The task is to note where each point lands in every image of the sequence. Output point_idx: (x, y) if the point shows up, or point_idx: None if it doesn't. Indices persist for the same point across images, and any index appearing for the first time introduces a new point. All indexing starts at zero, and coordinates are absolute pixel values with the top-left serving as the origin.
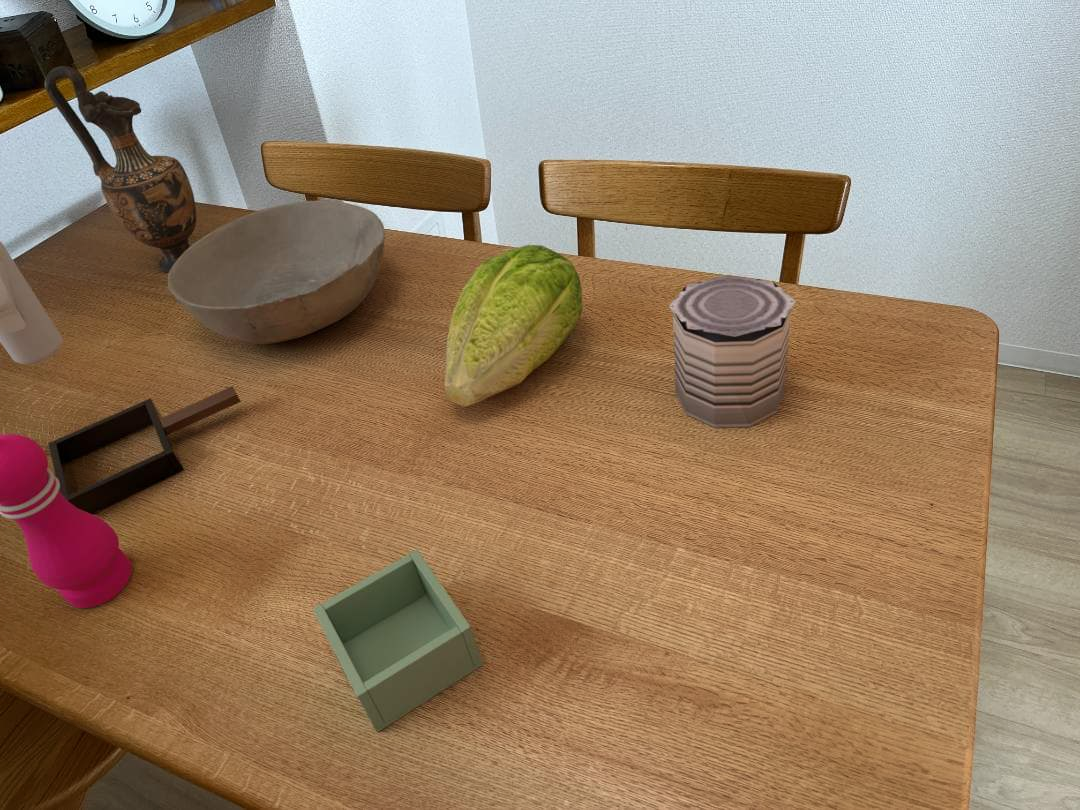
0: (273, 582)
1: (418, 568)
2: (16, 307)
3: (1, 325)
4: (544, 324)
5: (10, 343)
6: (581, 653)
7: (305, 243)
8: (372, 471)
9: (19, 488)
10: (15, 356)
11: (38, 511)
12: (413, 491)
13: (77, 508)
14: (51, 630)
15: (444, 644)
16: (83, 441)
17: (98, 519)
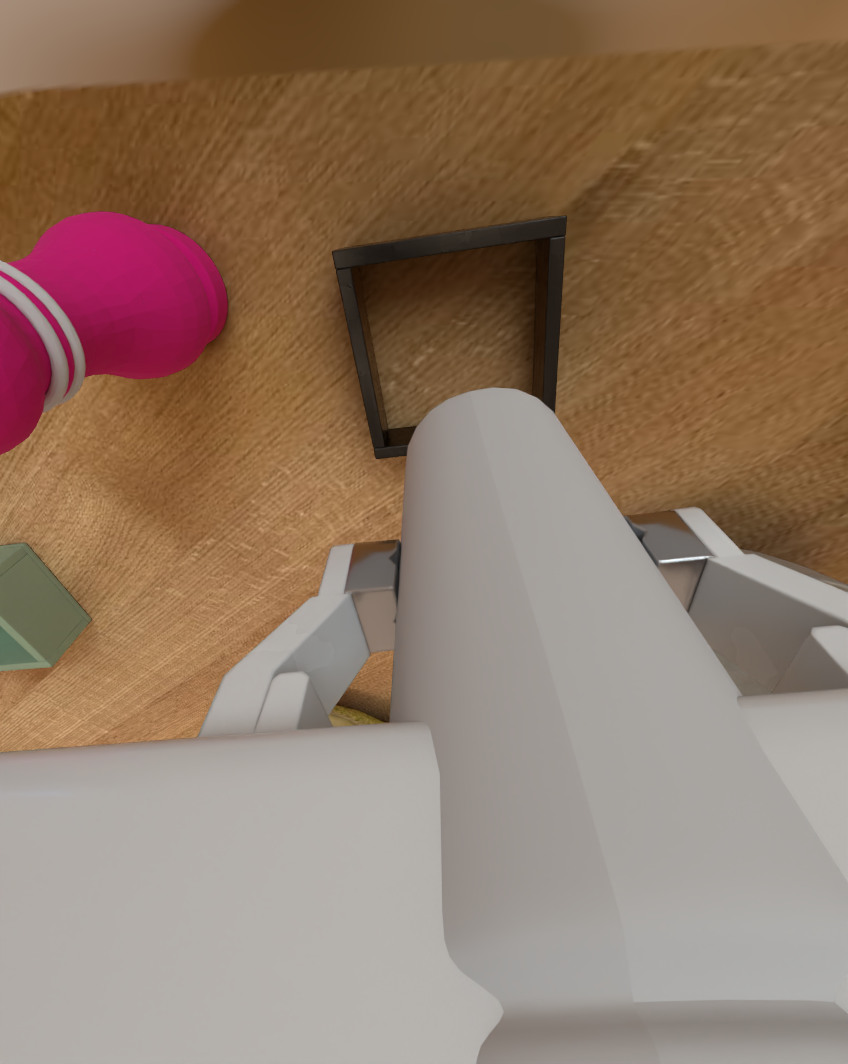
0: (123, 509)
1: (28, 661)
2: (385, 649)
3: (325, 571)
4: None
5: (415, 468)
6: (13, 672)
7: (746, 678)
8: (268, 615)
9: None
10: (425, 428)
11: None
12: (223, 635)
13: (113, 371)
14: (76, 191)
15: None
16: (542, 290)
17: (148, 376)
